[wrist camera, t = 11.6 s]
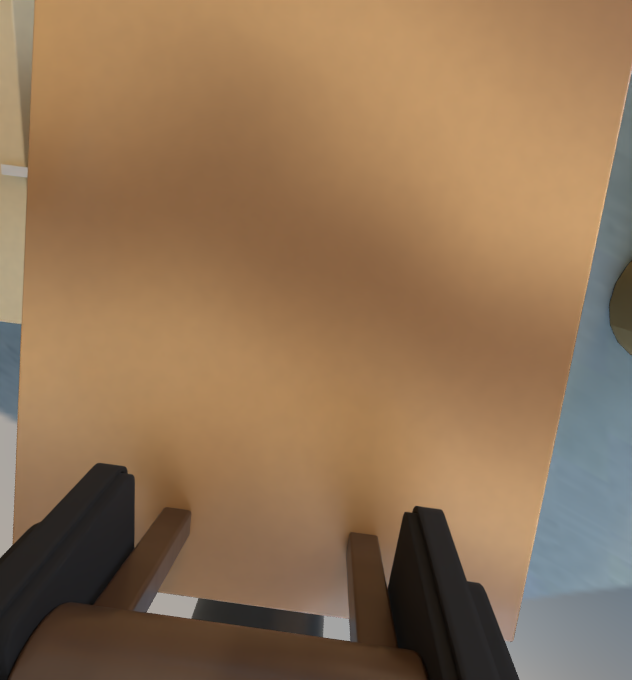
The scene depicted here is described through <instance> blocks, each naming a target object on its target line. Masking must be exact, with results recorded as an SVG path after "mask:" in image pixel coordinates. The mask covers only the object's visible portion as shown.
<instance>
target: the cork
mask: <svg viewBox="0 0 632 680" xmlns="http://www.w3.org/2000/svg"><path fill="white" fill-rule="evenodd" d="M610 325H611V327H612V330H613V332H614V334H615V337H616V339H617V341H618V343H619V344H620V345H621V346H622V347H623V348H624V349H625V350H626V351H627V352H628V353H629V354H630V355H632V261H631V262H630V263H629V264H628V266H627V267H626V269H625V270H624V272H623V273H622V275H621V276H620V278H619V279H618V281H617V282H616V285H615V288H614V291H613V294H612V298H611V301H610Z"/></svg>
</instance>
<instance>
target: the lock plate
mask: <svg viewBox="0 0 632 680" xmlns="http://www.w3.org/2000/svg"><path fill="white" fill-rule="evenodd" d="M33 24H34V0H0V321H1V322H9V323H16V324H22V299H23V274H24V249H25V224H26V199H27V174H28V149H29V124H30V99H31V74H32V49H33Z"/></svg>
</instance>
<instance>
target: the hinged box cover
mask: <svg viewBox="0 0 632 680" xmlns="http://www.w3.org/2000/svg"><path fill="white" fill-rule="evenodd" d="M631 73H632V0H34V24H33V49H32V74H31V99H30V124H29V149H28V174H27V199H26V224H25V249H24V274H23V299H22V324H21V349H20V374H19V399H18V424H17V450H16V475H15V500H14V524H13V526H14V527H13V544H14V543H15V542H16V541H17V540H18V539H19V538H20V537H21V536H22V535H23V534H24V533H25V532H26V531H27V530H28V529H29V528H30V527H31V526H33V525H34V524H36V523H39V522H41V521H42V520H43V519H44V518H45V517H46V516H47V515H48V514H49V513H50V512H51V511H52V509H53V508H54V507H55V506H56V505H57V504H58V503H59V502H60V501H61V500H62V499H63V498H64V497H65V496H66V495H67V494H68V493H69V492H70V490H71V489H72V488H73V487H74V486H75V485H76V484H77V483H78V482H79V481H80V480H81V479H82V478H83V477H84V476H85V475H86V474H87V472H88V471H89V470H90V469H91V468H92V467H93V466H94V465H95V464H97V463H105V464H113V465H120V466H125V467H126V468H127V470H128V474H133V475H134V477H135V537H134V549H133V551H132V552H131V553H130V555H129V556H128V558H127V559H126V560H125V562H124V563H123V564H122V566H121V567H120V569H119V570H118V571H117V573H116V574H115V575H114V577H113V578H112V579H111V581H110V582H109V584H108V585H107V586H106V588H105V589H104V590H103V592H102V593H101V594H100V596H99V597H98V599H97V600H96V601H95V603H94V604H93V605H89V604H82V603H75V602H68V603H64V604H61V605H59V606H57V607H56V608H54V609H53V610H52V611H51V612H50V613H49V614H48V615H47V616H46V617H45V618H44V619H43V620H42V621H41V623H40V624H39V625H38V626H37V628H36V629H35V631H34V632H33V633H32V635H31V636H30V638H29V639H28V641H27V643H26V644H25V646H24V648H23V649H22V651H21V653H20V655H19V657H18V659H17V661H16V663H15V665H14V667H13V669H12V671H11V673H10V675H9V677H8V680H429V678H428V674H427V670H426V667H425V664H424V661H423V659H422V657H421V656H420V655H419V654H418V653H417V652H415V651H414V650H408V649H401V648H398V643H397V638H396V632H395V627H394V621H393V616H392V610H391V605H390V600H389V594H388V584H389V580H390V575H391V570H392V565H393V561H394V556H395V551H396V547H397V542H398V537H399V532H400V528H401V523H402V518H403V514H404V512H412V511H413V508H414V507H415V506H421V507H428V508H436V509H441V510H443V512H444V515H445V518H446V520H447V523H448V526H449V529H450V532H451V535H452V538H453V541H454V544H455V547H456V550H457V553H458V556H459V559H460V562H461V565H462V568H463V571H464V574H465V576H466V579H467V581H470V582H477V583H480V584H481V585H482V586H483V587H484V589H485V591H486V593H487V596H488V598H489V601H490V604H491V606H492V609H493V612H494V614H495V617H496V619H497V622H498V625H499V627H500V630H501V633H502V635H503V638H504V641H510V642H512V641H513V640H514V635H515V631H516V626H517V621H518V616H519V611H520V607H521V602H522V597H523V592H524V587H525V583H526V578H527V573H528V568H529V563H530V558H531V554H532V549H533V544H534V539H535V534H536V530H537V525H538V520H539V515H540V510H541V506H542V501H543V496H544V491H545V486H546V482H547V477H548V472H549V467H550V462H551V457H552V453H553V448H554V443H555V438H556V433H557V429H558V424H559V419H560V414H561V409H562V405H563V400H564V395H565V390H566V385H567V381H568V376H569V371H570V366H571V361H572V356H573V352H574V347H575V342H576V337H577V332H578V328H579V323H580V318H581V313H582V308H583V304H584V299H585V294H586V289H587V284H588V280H589V275H590V270H591V265H592V260H593V255H594V251H595V246H596V241H597V236H598V231H599V227H600V222H601V217H602V212H603V207H604V203H605V198H606V193H607V188H608V183H609V179H610V174H611V169H612V164H613V159H614V154H615V150H616V145H617V140H618V135H619V130H620V126H621V121H622V116H623V111H624V106H625V102H626V97H627V92H628V87H629V82H630V78H631ZM157 592H160V593H167V594H174V595H181V596H189V597H196V598H203V599H210V600H217V601H224V602H231V603H238V604H245V605H253V606H260V607H267V608H274V609H281V610H288V611H295V612H302V613H310V614H317V615H324V616H332V617H338V618H345V619H349V623H350V640H351V641H344V640H337V639H329V638H323V637H316V636H309V635H302V634H295V633H287V632H280V631H273V630H266V629H259V628H252V627H245V626H238V625H231V624H224V623H216V622H209V621H202V620H195V619H187V618H181V617H174V616H166V615H160V614H152V613H146V612H147V610H148V608H149V606H150V605H151V603H152V601H153V599H154V597H155V596H156V594H157Z"/></svg>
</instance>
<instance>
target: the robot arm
mask: <svg viewBox="0 0 632 680" xmlns="http://www.w3.org/2000/svg"><path fill="white" fill-rule="evenodd" d="M134 537H135V477H134V475H133V474H128V470H127V468H126V467H125V466H120V465H113V464H105V463H97V464H95V465H94V466H93V467H92V468H91V469H90V470H89V471H88V472H87V474H86V475H85V476H84V477H83V478H82V479H81V480H80V481H79V482H78V483H77V484H76V485H75V486H74V487H73V488H72V489H71V490H70V492H69V493H68V494H67V495H66V496H65V497H64V498H63V499H62V500H61V501H60V502H59V503H58V504H57V505H56V506H55V507H54V508H53V509H52V511H51V512H50V513H49V514H48V515H47V516H46V517H45V518H44V519H43V520H42V521H41V522H39V523H36V524H34V525H33V526H31V527H30V528H29V529H28V530H27V531H26V532H25V533H24V534H23V535H22V536H21V537H20V538H19V539H18V540H17V541H16V542H15V543H14V544H13V545H12V546H11V548H9V550H8V551H7V552H6V553H5V554H4V555H3V556H2V557H1V558H0V680H8V677H9V675H10V673H11V671H12V669H13V667H14V665H15V663H16V661H17V659H18V657H19V655H20V653H21V651H22V649H23V648H24V646H25V644H26V643H27V641H28V639H29V638H30V636H31V635H32V633H33V632H34V631H35V629H36V628H37V626H38V625H39V624H40V623H41V621H42V620H43V619H44V618H45V617H46V616H47V615H48V614H49V613H50V612H51V611H52V610H53V609H54V608H56V607H57V606H59V605H61V604H64V603H68V602H75V603H82V604H89V605H93V604H94V603H95V601H96V600H97V599H98V597H99V596H100V594H101V593H102V592H103V590H104V589H105V588H106V586H107V585H108V584H109V582H110V581H111V579H112V578H113V577H114V575H115V574H116V573H117V571H118V570H119V569H120V567H121V566H122V564H123V563H124V562H125V560H126V559H127V558H128V556H129V555H130V553H131V552H132V551H133V549H134ZM388 594H389V600H390V605H391V610H392V616H393V621H394V627H395V632H396V638H397V643H398V648H401V649H408V650H414V651H415V652H417V653H418V654H419V655H420V656H421V657H422V659H423V661H424V664H425V667H426V670H427V674H428V678H429V680H519V677H518V675H517V672H516V670H515V667H514V664H513V662H512V659H511V657H510V654H509V651H508V648H507V646H506V643H505V641H504V638H503V635H502V633H501V630H500V627H499V625H498V622H497V619H496V617H495V614H494V612H493V609H492V606H491V604H490V601H489V598H488V596H487V593H486V591H485V589H484V587H483V586H482V585H481V584H480V583H477V582H470V581H467V579H466V576H465V574H464V571H463V568H462V565H461V562H460V559H459V556H458V553H457V550H456V547H455V544H454V541H453V538H452V535H451V532H450V529H449V526H448V523H447V520H446V518H445V515H444V512H443V510H441V509H436V508H428V507H421V506H415V507H414V508H413V511H412V512H404V514H403V518H402V523H401V528H400V532H399V537H398V542H397V547H396V551H395V556H394V561H393V565H392V570H391V575H390V580H389V584H388Z"/></svg>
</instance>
